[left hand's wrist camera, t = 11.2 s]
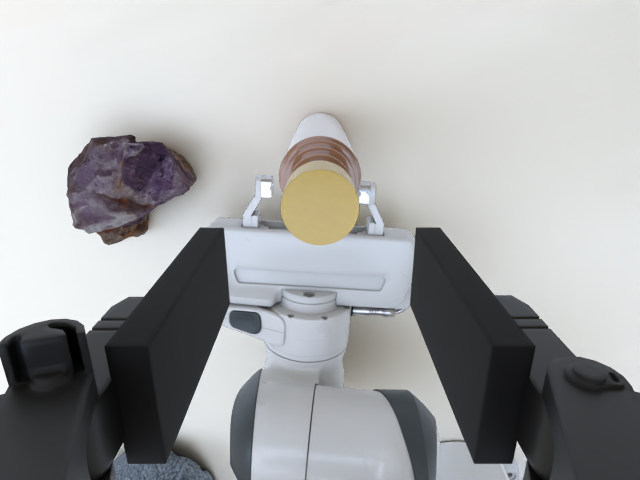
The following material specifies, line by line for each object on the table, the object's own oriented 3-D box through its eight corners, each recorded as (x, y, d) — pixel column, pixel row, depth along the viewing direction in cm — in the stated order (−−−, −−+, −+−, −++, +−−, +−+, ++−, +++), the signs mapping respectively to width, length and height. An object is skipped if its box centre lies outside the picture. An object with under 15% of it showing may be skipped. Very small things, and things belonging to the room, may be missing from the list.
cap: (361, 222, 23) (365, 237, 21) (293, 235, 24) (290, 252, 21) (348, 153, 22) (351, 161, 20) (276, 168, 22) (272, 178, 20)
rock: (210, 187, 48) (150, 107, 45) (202, 203, 40) (127, 106, 37) (124, 246, 48) (58, 171, 45) (98, 274, 40) (15, 184, 37)
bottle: (348, 157, 46) (380, 244, 22) (301, 167, 46) (281, 264, 22) (339, 108, 44) (362, 142, 20) (290, 118, 44) (255, 166, 20)
